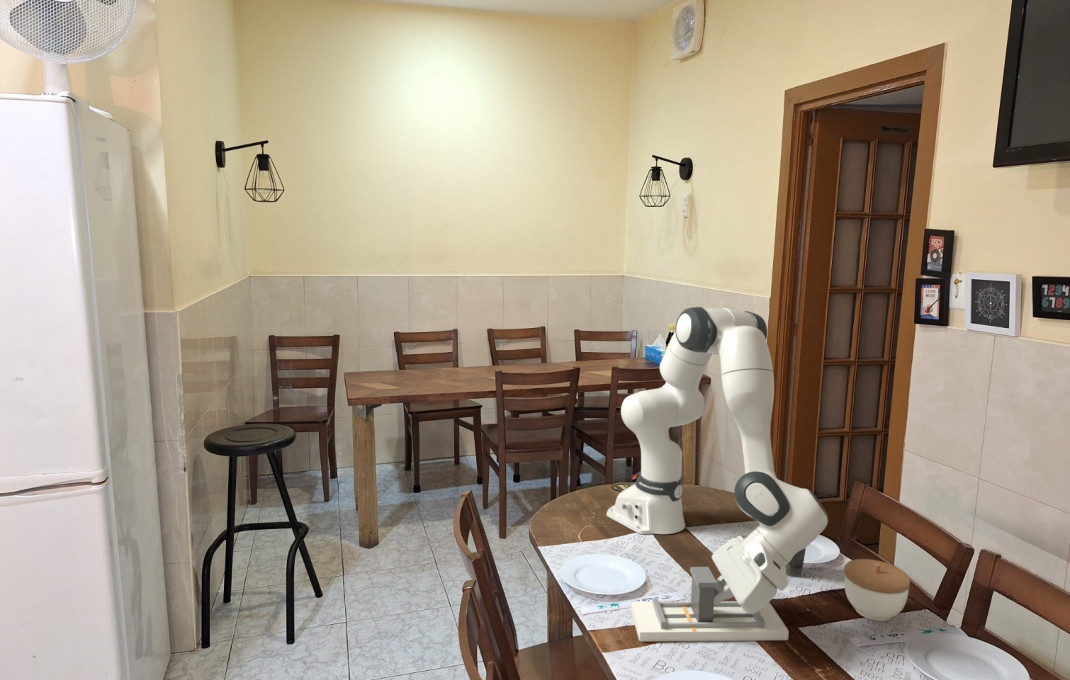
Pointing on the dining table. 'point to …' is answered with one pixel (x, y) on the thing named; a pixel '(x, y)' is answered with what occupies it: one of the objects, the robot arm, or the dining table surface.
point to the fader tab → (702, 593)
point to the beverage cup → (796, 564)
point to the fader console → (705, 623)
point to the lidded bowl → (876, 588)
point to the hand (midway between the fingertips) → (712, 599)
